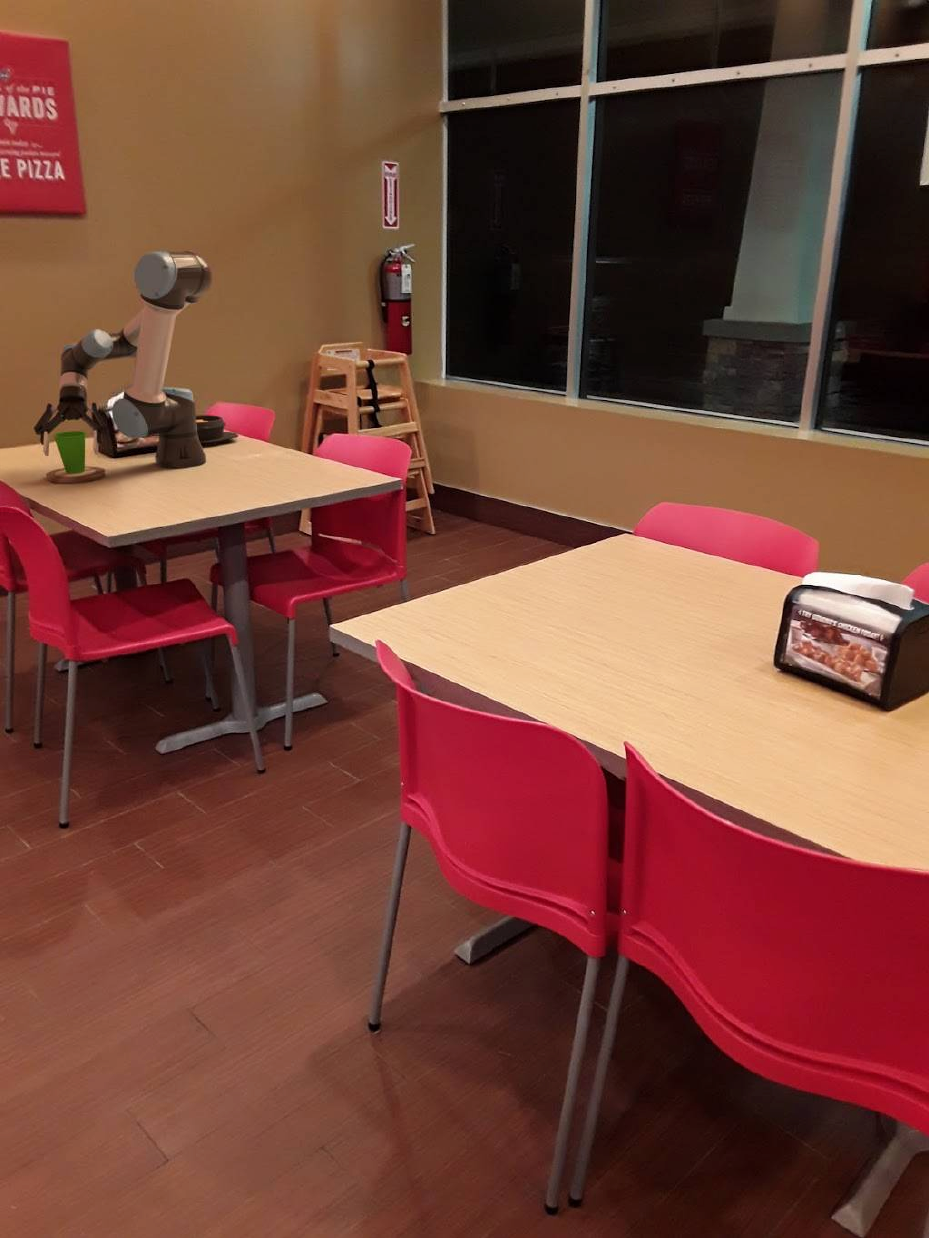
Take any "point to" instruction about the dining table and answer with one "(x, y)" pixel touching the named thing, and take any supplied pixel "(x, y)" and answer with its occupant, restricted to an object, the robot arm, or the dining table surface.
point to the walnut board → (75, 476)
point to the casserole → (212, 430)
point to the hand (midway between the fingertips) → (70, 452)
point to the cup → (72, 450)
